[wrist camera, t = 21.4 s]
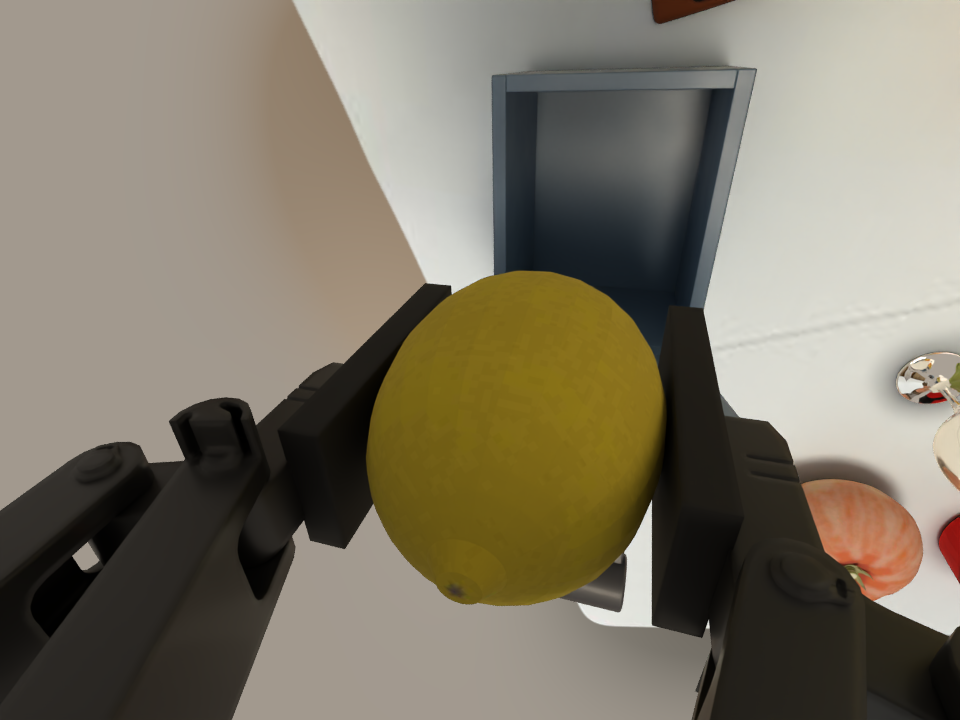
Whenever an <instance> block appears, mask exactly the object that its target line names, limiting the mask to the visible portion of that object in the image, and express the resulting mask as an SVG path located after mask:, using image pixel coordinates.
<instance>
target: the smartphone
mask: <svg viewBox="0 0 960 720" xmlns="http://www.w3.org/2000/svg"><path fill="white" fill-rule="evenodd" d="M731 1H735V0H652V7H653V16H654V20H655V22H656V23H657V24H662V23H665V22H669V21H672V20H675V19H678V18H681V17H685V16H688V15H691V14H694V13H697V12H700V11H703V10H707V9H710V8H713V7H716V6H719V5H722V4H725V3H728V2H731Z"/></svg>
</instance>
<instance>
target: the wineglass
mask: <svg viewBox="0 0 960 720" xmlns="http://www.w3.org/2000/svg"><path fill="white" fill-rule="evenodd" d="M896 387H897V390H898V392H899V393H900V394H901V396H903V397H904V398H905V399H907V400H909V401H912V402H915V403H919V404H937V403H942V402H945V401H948V402H949V403H950V404H951V406H952V408H953V410H954V411H953V412H954V415H952V416H951V417H949V418H948V419H947V420H946V421H945V422H944V423H943V424H942V425H941V426H940V427H939V429H938V430H937V432H936V434H935V437H934V441H933V453H934V456H935V459H936V462H937V464H938V466H939V468H940V470H941V471H942V473H943V474H944V476H945V477H946V478H947V480H948V481H949V482H950V483H951V484H952V485H953V486H954V487H955V488H956V489H957V490H958V491H959V492H960V401H958V400H957V399H956V398H955V397H957V396H958V395H960V355H958V354H954V353H949V352H935V353H929V354H925V355H922V356H919V357H917V358H915V359H913V360H911V361H910V362H908V363H907V364H906V365H905V366H904V367H903V368H902V369H901V370H900V372H899V373H898V376H897V379H896Z"/></svg>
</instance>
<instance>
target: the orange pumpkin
mask: <svg viewBox="0 0 960 720" xmlns="http://www.w3.org/2000/svg"><path fill="white" fill-rule="evenodd" d="M802 487H803V490H804V493H805V496H806V499H807V502H808V505H809V507H810V510H811V513H812V516H813V519H814V522H815V525H816V528H817V530H818V533H819V536H820V539H821V542H822V545H823V548H824V550H825V552H826V553H827V554H829V555H830V556H831V557H832V558H834V559H835V560H836V561H837V562H839V563H840V564H841V565H842V566H844V567H845V568H846V569H847V570H848V571H849V573H850V574H851V575H852V577H853V578H854V579H855V581H856V582H857V583H858V585H859V586H860V588H861V592H862V594H863V595H865V596H866V597H868V598H869V599H871V600H872V601H874V600H877V599H879V598H881V597H883V596H886V595H890V594H893V593H895V592H897V591H899V590H900V589H902V588H903V587H905V586H906V585H907V584H909V583H910V582H911V581H912V580H913V578H914V577H915V575H916V574H917V572H918V570H919V567H920V564H921V561H922V557H923V544H922V539H921V534H920V532H919V529H918V526H917V524H916V522H915V520H914V519H913V517H912V516H911V515H910V514H909V512H908V511H907V510H906V509H905V508H904V507H902V506H901V505H900V504H899V503H898V502H896V501H895V500H894V499H892V498H891V497H889V496H888V495H886V494H885V493H883V492H882V491H880V490H878V489H876V488H874V487H871V486H869V485H866V484H863V483H859V482H854V481H849V480H841V479H822V480H815V481H810V482H806V483H803V484H802Z"/></svg>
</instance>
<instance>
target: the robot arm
mask: <svg viewBox="0 0 960 720" xmlns="http://www.w3.org/2000/svg"><path fill="white" fill-rule="evenodd" d="M450 295H452V292H451V286H449V285H438V284H427V283H425V284H424V285H423V286H422V287H421V288H420V289H419V290H418V291H417V292H416V293H415V294H414V295H413V296H412V297H411V298H410V299H409V300H408V301H407V302H406V303H405V304H404V305H403V306H402V307H401V308H400V309H399V310H398V311H397V312H396V313H395V314H394V315H393V316H392V317H391V318H390V319H389V320H388V321H387V322H386V323H384V325H383V326H381V328H380V329H378V331H376V332H375V333H374V334H373V335H372V336H371V337H370V338H369V339H368V340H367V342H365V343H364V344H363V345H362V346H361V347H360V348H359V349H358V350H357V351H356V352H355V353H354V354H353V355H352V356H351V357H350V358H349V359H348V360H347V361H346V362H345V363H344V364H341V363H331V364H329V365H327V366H325V367H323V368H321V369H319V370H317V371H315V372H313V373H312V374H311V375H310V376H309V377H308V378H307V379H306V380H305V381H303V382H302V383H301V384H300V385H299V388H296V389H295V390H294V391H293V392H292V393H291V394H289V395H288V398H287V399H284V400H283V401H282V402H281V403H280V404H279V405H278V406H277V407H275V408H274V409H273V410H272V411H271V412H270V413H269V414H268V415H267V416H266V417H265V418H264V419H263V420H261V422H259V423H258V424H257V425H255V421H254V419H253V416H252V412H251V409H250V407H249V405H248V403H246V402H244V401H242V400H240V399H236V398H227V397H226V398H217V399H210V400H207V401H204V402H200V403H197V404H194V405H192V406H191V407H188V408H186V409H184V410H182V411H181V412H179V413H178V414H177V415H176V416H174V417H173V418H172V419H171V420H170V421H169V423H170V425H171V427H172V430H173V432H174V434H175V437H176V439H177V441H178V443H179V446H180V448H181V450H182V452H183V455H184V457H185V460H184V461H176V462H160V463H148V461H147V459H146V457H145V455H144V453H143V451H142V449H141V447H140V446H139V445H137V444H134V443H132V442H115V443H109V444H104V445H100V446H97V447H96V448H93V449H91V450H88V451H86V452H83V453H82V454H80V455H78V456H77V457H75V458H73V459H72V460H70V461H68V462H67V463H66V464H64V465H63V466H62V467H60V468H59V469H57V470H56V471H55V472H53V473H52V474H51V475H49V476H48V477H46V478H45V479H43V480H42V481H41V482H39V483H38V484H37V485H35V486H34V487H32V488H31V489H30V490H28V491H27V492H26V493H24V494H23V495H21V496H20V497H19V498H17V499H16V500H15V501H13V502H12V503H10V504H9V505H7V506H6V507H5V508H3V509H2V510H1V511H0V720H232V718H233V715H234V713H235V710H236V707H237V705H238V702H239V700H240V697H241V694H242V692H243V689H244V686H245V684H246V681H247V679H248V676H249V673H250V671H251V668H252V666H253V663H254V660H255V658H256V655H257V653H258V650H259V647H260V645H261V642H262V639H263V637H264V634H265V632H266V629H267V626H268V624H269V621H270V619H271V616H272V613H273V611H274V608H275V606H276V603H277V600H278V598H279V595H280V592H281V590H282V587H283V585H284V582H285V579H286V577H287V574H288V572H289V569H290V566H291V564H292V561H293V558H294V553H295V545H294V541H293V538H292V535H293V534H294V533H295V531H296V530H297V529H298V527H299V526H300V525H301V523H302V522H303V521H305V525H306V528H307V531H308V535H309V538H310V541H314V542H319V543H322V544H327V545H330V546H335V547H338V548H342V549H345V548H346V547H347V545H348V543H349V542H350V540H351V538H352V537H353V535H354V534H355V532H356V531H357V529H358V527H359V526H360V524H361V522H362V521H363V519H364V518H365V516H366V515H367V513H368V511H369V510H370V508H371V506H372V505H373V500H372V497H371V492H370V486H369V481H368V475H367V465H366V452H367V443H368V435H369V428H370V420H371V416H372V412H373V408H374V404H375V401H376V398H377V395H378V392H379V389H380V387H381V385H382V383H383V380H384V378H385V376H386V374H387V372H388V370H389V368H390V367H391V365H392V363H393V361H394V359H395V357H396V355H397V353H398V351H399V350H400V348H401V346H402V344H403V342H404V341H405V340H406V338H407V337H408V335H409V334H410V333H411V331H412V330H413V329H414V328H415V327H416V326H417V325H418V324H419V323H420V322H421V321H422V320H423V319H424V318H425V317H426V316H427V315H428V314H429V313H430V312H431V311H432V310H433V309H434V308H435V307H437V306H438V305H439V304H440V303H441V302H442V301H443V300H445V299H446V298H447V297H449V296H450ZM658 370H659V374H660V378H661V381H662V385H663V389H664V393H665V398H666V405H667V423H666V438H665V452H664V460H663V466H662V470H661V474H660V478H659V481H658V484H657V487H656V490H655V493H654V495H653V498H652V625H653V626H657V627H661V628H665V629H669V630H673V631H677V632H681V633H685V634H689V635H693V636H697V637H701V638H702V637H703V634H704V631H705V629H706V626H707V623H708V620H709V625H710V633H711V645H712V648H711V651H710V653H709V656H708V659H707V661H706V664H705V667H704V669H703V672H702V675H701V677H700V680H699V683H698V686H697V688H696V692H698V696H697V700H696V705H695V708H694V713H693V717H692V720H960V626H959V627H957V628H956V629H955V631H954V632H953V633H952V634H951V636H950V637H949V636H947V635H945V634H942V633H940V632H938V631H936V630H933V629H931V628H929V627H927V626H924V625H922V624H920V623H918V622H915V621H913V620H911V619H909V618H906V617H904V616H902V615H900V614H897V613H895V612H893V611H891V610H889V609H887V608H885V607H883V606H881V605H879V604H877V603H876V602H874V601H872V600H871V599H869V598H868V597H866V596H865V595H863V594H862V592H861V588H860V586H859V585H858V583H857V582H856V581H855V579H854V578H853V577H852V575H851V574H850V573H849V571H848V570H847V569H846V568H845V567H844V566H842V565H841V564H840V563H839V562H837V561H836V560H835V559H834V558H832V557H831V556H830V555H829V554H827V553H826V552H825V550H824V548H823V545H822V542H821V539H820V536H819V533H818V530H817V528H816V525H815V522H814V519H813V516H812V513H811V510H810V507H809V505H808V502H807V499H806V496H805V493H804V490H803V487H802V484H801V483H799V476H798V473H797V470H796V467H795V465H793V459H792V456H791V453H790V450H789V447H788V444H787V441H786V440H785V439H784V438H783V437H782V436H781V435H780V434H779V433H778V432H777V431H776V430H775V429H774V427H773V426H772V425H771V424H770V423H769V422H767V421H760V420H753V419H746V418H738V417H731V416H724V412H723V407H722V402H721V397H720V392H719V387H718V382H717V377H716V372H715V367H714V362H713V357H712V352H711V347H710V342H709V337H708V332H707V327H706V321H705V316H704V311H703V308H696V307H685V306H674V305H669V309H668V314H667V320H666V325H665V331H664V336H663V342H662V347H661V352H660V358H659V363H658ZM87 542H88V543H89V545H90V546H91V548H92V549H93V551H94V552H95V554H96V555H97V557H98V559H99V560H100V561H99V562H98V563H97V564H95V565H94V566H92V567H91V568H89V569H88V570H81V569H80V567H79V566H78V564H77V563H76V561H75V560H74V559H73V557H72V555H73V554H75V553H76V552H77V551H78V550H79V549H80V548H81V547H82V546H83V545H85V544H86V543H87Z"/></svg>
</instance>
